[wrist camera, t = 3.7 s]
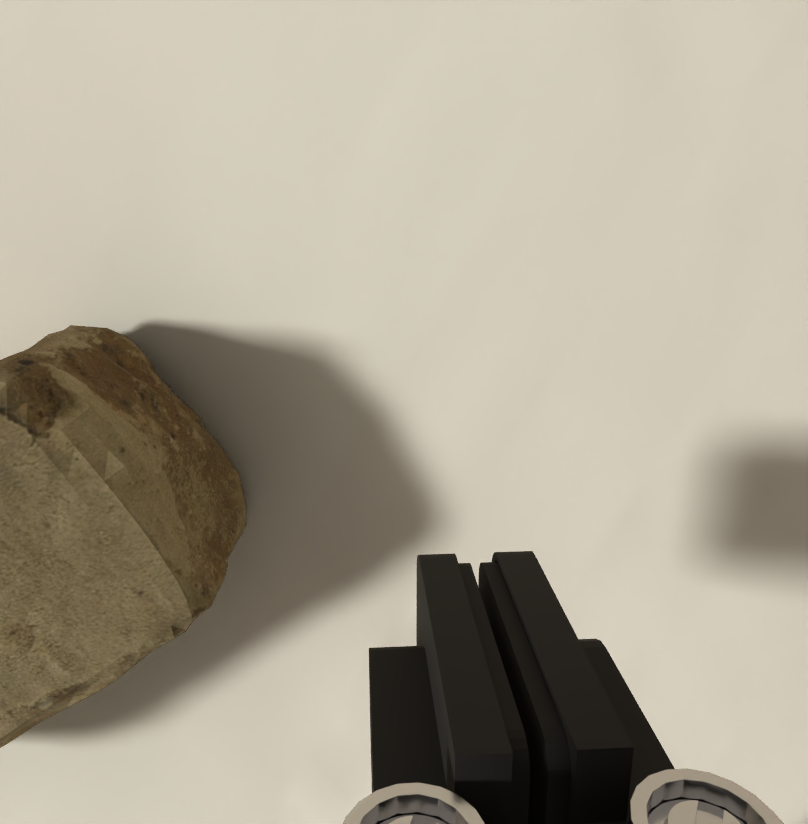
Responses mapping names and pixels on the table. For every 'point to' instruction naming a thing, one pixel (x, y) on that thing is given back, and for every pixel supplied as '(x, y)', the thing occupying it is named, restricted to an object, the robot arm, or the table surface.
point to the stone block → (100, 519)
